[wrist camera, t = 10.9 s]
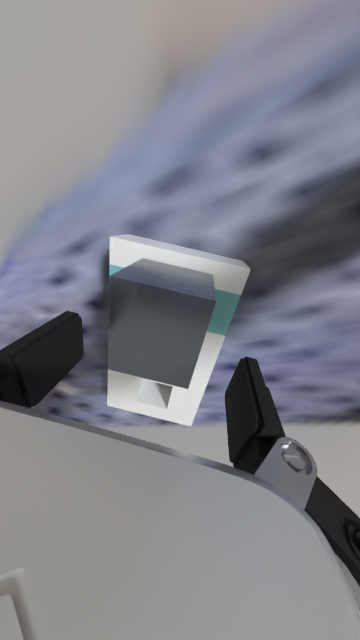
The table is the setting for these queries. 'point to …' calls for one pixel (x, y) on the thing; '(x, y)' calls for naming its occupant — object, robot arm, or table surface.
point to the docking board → (228, 291)
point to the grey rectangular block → (158, 320)
